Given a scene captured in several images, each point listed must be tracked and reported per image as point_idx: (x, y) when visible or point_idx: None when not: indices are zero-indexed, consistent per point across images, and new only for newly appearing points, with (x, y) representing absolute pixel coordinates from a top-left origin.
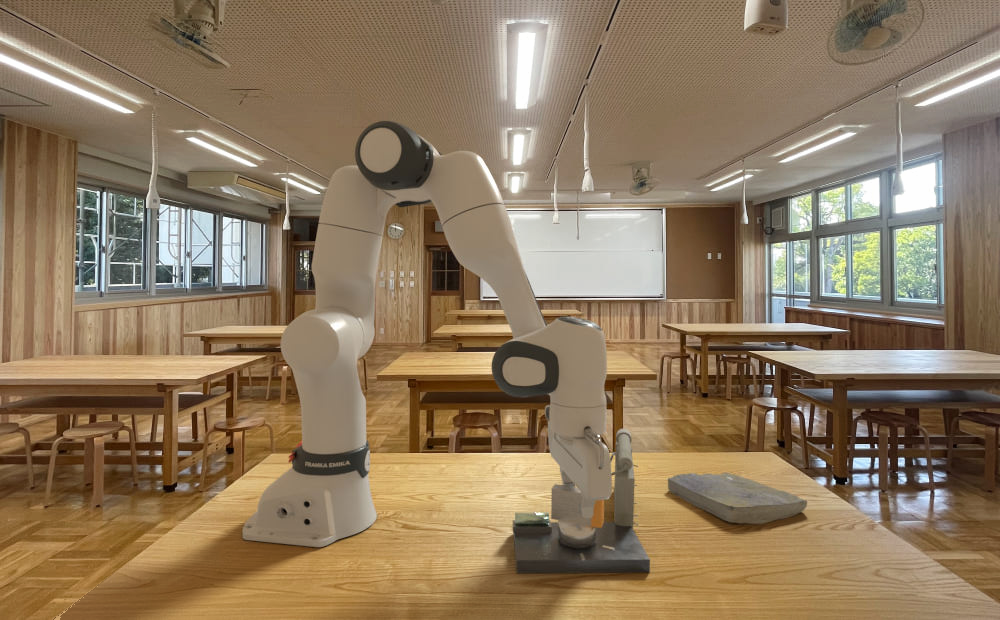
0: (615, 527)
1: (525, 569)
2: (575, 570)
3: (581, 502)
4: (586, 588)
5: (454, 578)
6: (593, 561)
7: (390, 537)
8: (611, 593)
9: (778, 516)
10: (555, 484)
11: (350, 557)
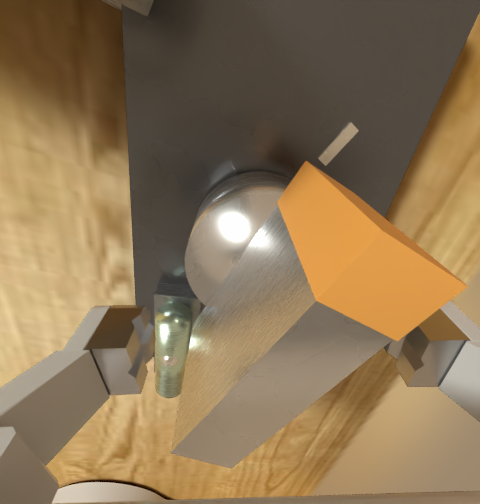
0: (182, 31)
1: None
2: None
3: (471, 412)
4: (414, 241)
5: None
6: None
7: (158, 465)
8: (464, 191)
9: None
10: (175, 451)
11: (210, 487)
